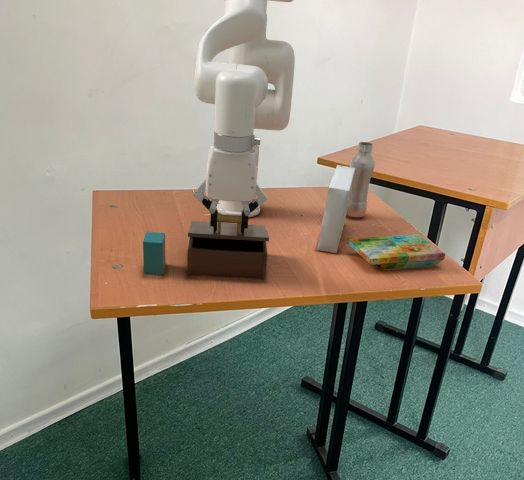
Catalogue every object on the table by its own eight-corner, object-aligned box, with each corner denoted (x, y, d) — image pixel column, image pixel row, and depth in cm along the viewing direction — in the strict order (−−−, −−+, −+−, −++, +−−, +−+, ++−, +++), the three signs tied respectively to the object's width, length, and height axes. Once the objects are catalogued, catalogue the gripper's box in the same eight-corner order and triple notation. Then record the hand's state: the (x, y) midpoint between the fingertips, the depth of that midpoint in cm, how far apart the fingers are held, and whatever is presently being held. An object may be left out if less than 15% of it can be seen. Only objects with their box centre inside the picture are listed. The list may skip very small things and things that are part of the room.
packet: (163, 278, 124) (162, 242, 120) (143, 277, 124) (142, 241, 120) (165, 267, 129) (165, 232, 125) (147, 266, 128) (146, 231, 124)
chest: (264, 282, 126) (267, 253, 123) (187, 278, 125) (187, 248, 121) (261, 256, 138) (264, 229, 134) (190, 252, 136) (191, 224, 133)
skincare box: (338, 254, 142) (349, 190, 134) (316, 251, 143) (325, 186, 135) (345, 225, 160) (355, 166, 151) (326, 222, 161) (334, 163, 152)
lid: (268, 241, 121) (270, 219, 119) (187, 236, 119) (188, 213, 118) (264, 228, 134) (265, 208, 132) (191, 224, 133) (191, 203, 131)
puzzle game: (446, 250, 138) (370, 255, 132) (441, 268, 140) (367, 274, 134) (420, 231, 147) (348, 235, 141) (416, 249, 150) (345, 253, 143)
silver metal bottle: (342, 210, 170) (353, 139, 159) (365, 214, 169) (378, 142, 158) (340, 218, 164) (352, 144, 153) (364, 221, 163) (377, 148, 153)
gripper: (276, 140, 117) (268, 225, 127) (190, 133, 116) (189, 221, 126) (278, 150, 111) (270, 240, 121) (187, 144, 109) (186, 235, 120)
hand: (228, 229), depth 123 cm, fingers closed on lid, 5 cm apart
